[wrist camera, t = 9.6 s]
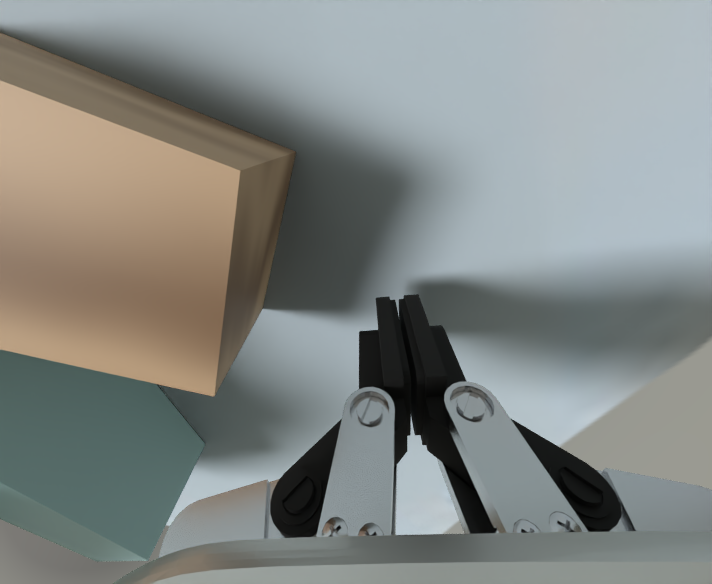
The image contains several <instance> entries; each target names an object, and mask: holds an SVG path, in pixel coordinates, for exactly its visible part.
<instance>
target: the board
mask: <svg viewBox="0 0 712 584" xmlns="http://www.w3.org/2000/svg"><path fill="white" fill-rule="evenodd" d="M204 446H205V443H204V442H203V441H202V440H201V438H200V437H199V436H198V435H197V433H196V432H195V431H194V430H193V429H192V427H191V426H190V425H189V424H188V422H187V421H186V420H185V419H184V417H183V416H182V415H181V414H180V413H179V411H178V410H177V409H176V408H175V406H174V405H173V404H172V403H171V402H170V400H169V399H168V398H167V397H166V395H165V394H164V393H163V392H162V390H161V389H160V388H159V387H158V386H157V384H154V383H150V382H145V381H141V380H136V379H132V378H127V377H123V376H118V375H114V374H109V373H105V372H100V371H96V370H91V369H87V368H82V367H77V366H73V365H68V364H64V363H59V362H55V361H50V360H46V359H41V358H37V357H32V356H28V355H23V354H19V353H14V352H10V351H5V350H1V349H0V519H2V520H4V521H6V522H8V523H10V524H13V525H15V526H17V527H20V528H22V529H24V530H26V531H29V532H31V533H33V534H35V535H38V536H40V537H42V538H44V539H47V540H49V541H51V542H54V543H56V544H58V545H60V546H63V547H65V548H67V549H69V550H72V551H74V552H76V553H79V554H81V555H83V556H85V557H88V558H90V559H92V560H95V561H147V560H149V558H150V556H151V554H152V552H153V550H154V548H155V546H156V544H157V541H158V539H159V537H160V535H161V533H162V531H163V529H164V527H165V525H166V523H167V521H168V519H169V517H170V515H171V513H172V511H173V509H174V507H175V505H176V503H177V501H178V499H179V497H180V495H181V493H182V491H183V489H184V487H185V485H186V483H187V481H188V479H189V477H190V475H191V473H192V470H193V468H194V466H195V464H196V462H197V460H198V458H199V456H200V454H201V452H202V450H203V448H204Z"/></svg>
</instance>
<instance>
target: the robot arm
mask: <svg viewBox="0 0 712 584" xmlns="http://www.w3.org/2000/svg"><path fill="white" fill-rule="evenodd" d="M376 306H377V319H378V330H371V331H360V332H359V389H358V390H357V391H355V392H354V393H352V394H351V395H350V397H349V398H348V399H347V401H346V404H345V407H344V411H343V416H342V419H341V420H340V421H339V422H338V423H337V424H336V425H335V426H334V427H333V428H332V429H331V430H330V431H329V432H327V433H326V434H325V435H324V436H323V437H322V438H321V439H320V440H319V441H318V442H317V443H316V444H315V445H314V446H313V447H312V448H311V449H310V450H309V451H308V452H306V453H305V454H304V455H303V456H302V457H301V458H300V459H299V460H298V461H297V462H296V463H295V464H294V465H293V466H292V467H291V468H290V469H289V470H288V471H286V472H285V473H284V475H283V476H282V477H281V478H280V479H278V480H275V481H272V482H268V480H264V481H261V482H257V483H254V484H251V485H247V486H244V487H241V488H238V489H234V490H231V491H228V492H225V493H221V494H218V495H215V496H211V497H208V498H205V499H202V500H198V501H196V502H194V503H192V504H190V505H188V506H187V507H186V508H185V509H184V510H183V511H182V512H180V513H179V514H178V515H177V517H176V518H175V520H174V521H173V522H172V524H171V525H170V527H169V529H168V532H167V533H166V536H165V538H164V541H163V544H162V547H161V551H160V554H159V557H158V559H156V560H153V561H151V562H149V563H147V564H145V565H143V566H141V567H139V568H137V569H136V570H134V571H132V572H130V573H128V574H127V575H125V576H123V577H122V578H120V579H119V580H117V581H116V582H115V583H113V584H712V490H711V489H708V488H704V487H702V486H697V485H692V484H687V483H682V482H676V481H671V480H666V479H661V478H656V477H650V476H645V475H640V474H635V473H629V472H624V471H619V470H614V469H608V468H605V469H604V470H603V471H599V470H595V469H594V468H592V467H590V466H589V465H588V464H587V463H585V462H583V461H582V460H580V459H578V458H577V457H575V456H573V455H572V454H570V453H568V452H567V451H565V450H563V449H561V448H560V447H558V446H556V445H555V444H553V443H551V442H550V441H548V440H546V439H544V438H543V437H541V436H539V435H538V434H536V433H534V432H532V431H531V430H529V429H527V428H526V427H524V426H522V425H521V424H519V423H517V422H515V421H514V420H512V419H510V417H509V416H508V414H507V413H506V412H505V410H504V409H503V407H502V406H501V404H500V403H499V401H498V400H497V399H496V397H495V396H494V395H493V394H492V393H491V392H490V391H489V390H487V389H486V388H485V387H483V386H481V385H478V384H476V383H472V382H467V381H466V379H465V377H464V375H463V372H462V370H461V368H460V365H459V363H458V360H457V358H456V356H455V353H454V351H453V349H452V346H451V344H450V342H449V339H448V337H447V335H446V332H445V330H444V328H443V326H441V325H440V326H429V323H428V320H427V317H426V315H425V312H424V309H423V306H422V303H421V301H420V298H419V295H418V294H416V295H404V299H399V317H398V312H397V307H396V302H395V300H390V298H389V297H378V298H376ZM411 417H412V422H413V428H414V433H415V435H421V440H422V445H427V450H428V451H429V452H430V453H431V454H433V455H434V456H435V457H436V458H437V459H438V464H439V467H440V470H441V472H442V475H443V478H444V480H445V483H446V486H447V488H448V491H449V494H450V496H451V499H452V502H453V504H454V507H455V510H456V512H457V515H458V518H459V520H460V523H461V525H462V528H463V531H464V533H465V534H433V535H396V495H397V464H398V462H399V461H400V460H401V458H402V457H403V456H404V455H405V453H406V452H407V435H410V419H411Z"/></svg>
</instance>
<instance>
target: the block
mask: <svg viewBox="0 0 712 584" xmlns="http://www.w3.org/2000/svg"><path fill="white" fill-rule="evenodd" d="M295 155H296V152H295V151H293V150H291V149H288V148H286V147H283V146H281V145H278V144H276V143H273V142H271V141H268V140H266V139H263V138H261V137H258V136H256V135H253V134H251V133H248V132H246V131H243V130H241V129H238V128H236V127H233V126H231V125H229V124H226V123H224V122H221V121H219V120H216V119H214V118H211V117H209V116H206V115H204V114H201V113H199V112H196V111H194V110H191V109H189V108H186V107H184V106H181V105H179V104H176V103H174V102H171V101H169V100H167V99H164V98H162V97H159V96H157V95H154V94H152V93H149V92H147V91H144V90H142V89H139V88H137V87H134V86H132V85H129V84H127V83H124V82H122V81H119V80H117V79H114V78H112V77H109V76H107V75H104V74H102V73H100V72H97V71H95V70H92V69H90V68H87V67H85V66H82V65H80V64H77V63H75V62H72V61H70V60H67V59H65V58H62V57H60V56H57V55H55V54H52V53H50V52H47V51H45V50H42V49H40V48H38V47H35V46H33V45H30V44H28V43H25V42H23V41H20V40H18V39H15V38H13V37H10V36H8V35H5V34H3V33H0V349H1V350H5V351H10V352H14V353H19V354H23V355H28V356H32V357H37V358H41V359H46V360H50V361H55V362H59V363H64V364H68V365H73V366H77V367H82V368H87V369H91V370H96V371H100V372H105V373H109V374H114V375H118V376H123V377H127V378H132V379H136V380H141V381H145V382H150V383H154V384H159V385H163V386H168V387H172V388H177V389H181V390H186V391H190V392H195V393H200V394H204V395H209V396H213V397H214V396H215V395H216V393H217V391H218V389H219V387H220V385H221V384H222V382H223V380H224V378H225V376H226V374H227V373H228V371H229V369H230V367H231V365H232V363H233V362H234V360H235V358H236V356H237V354H238V352H239V351H240V349H241V347H242V345H243V343H244V342H245V340H246V338H247V336H248V334H249V332H250V331H251V329H252V327H253V325H254V323H255V321H256V320H257V318H258V316H259V314H260V312H261V310H262V309H263V304H264V300H265V295H266V290H267V286H268V281H269V276H270V272H271V267H272V262H273V258H274V253H275V248H276V244H277V239H278V234H279V230H280V225H281V220H282V216H283V211H284V206H285V202H286V197H287V192H288V188H289V183H290V178H291V174H292V169H293V164H294V160H295Z"/></svg>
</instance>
